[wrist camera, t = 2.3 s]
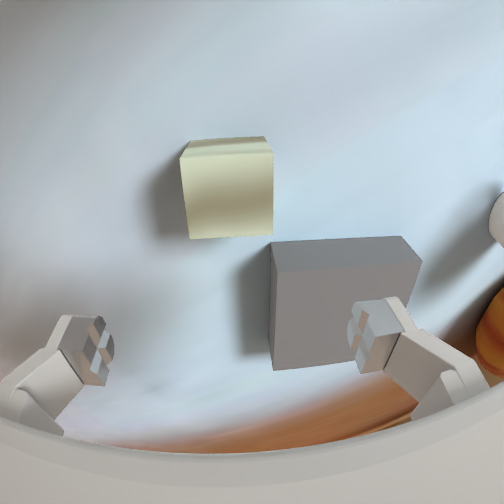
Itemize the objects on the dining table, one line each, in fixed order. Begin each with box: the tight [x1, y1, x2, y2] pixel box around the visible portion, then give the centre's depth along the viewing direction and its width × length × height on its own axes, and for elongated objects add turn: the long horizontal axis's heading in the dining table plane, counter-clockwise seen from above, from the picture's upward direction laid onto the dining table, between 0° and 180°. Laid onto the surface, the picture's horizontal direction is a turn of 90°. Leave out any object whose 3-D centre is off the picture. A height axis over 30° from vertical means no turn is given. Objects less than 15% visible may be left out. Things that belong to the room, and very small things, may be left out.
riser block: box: [269, 236, 422, 371], centre depth 26 cm, size 12×12×4 cm
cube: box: [179, 136, 273, 239], centre depth 19 cm, size 5×5×5 cm
